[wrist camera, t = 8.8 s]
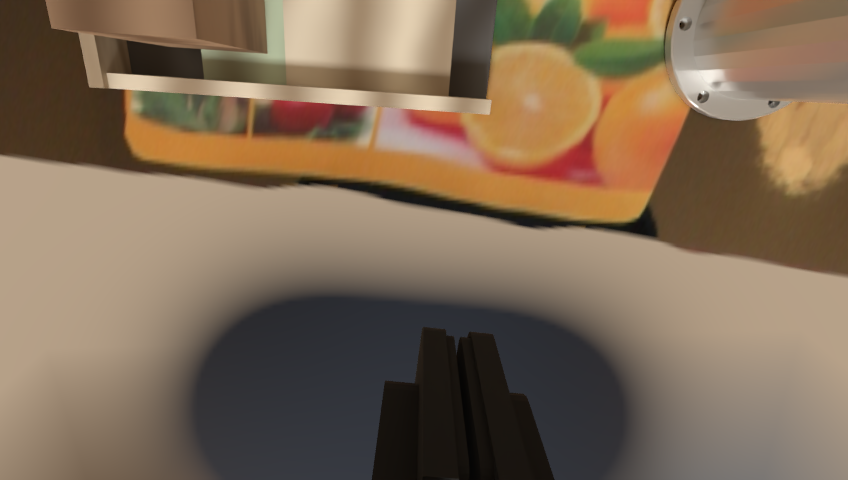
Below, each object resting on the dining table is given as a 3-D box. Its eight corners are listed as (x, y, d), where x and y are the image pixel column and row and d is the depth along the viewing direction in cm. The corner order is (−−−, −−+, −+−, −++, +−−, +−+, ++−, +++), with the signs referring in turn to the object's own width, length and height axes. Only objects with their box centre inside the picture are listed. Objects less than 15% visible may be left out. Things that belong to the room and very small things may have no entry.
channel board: (504, -70, 28) (515, -90, 25) (484, 112, 33) (490, 115, 29) (90, -103, 28) (45, -129, 24) (123, 87, 32) (89, 87, 29)
